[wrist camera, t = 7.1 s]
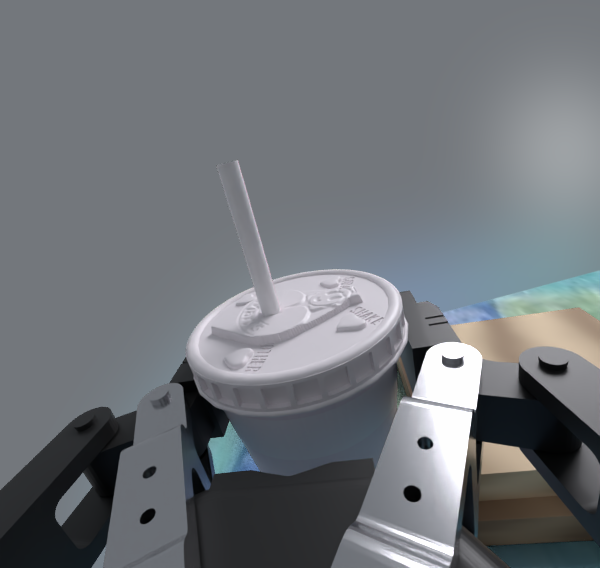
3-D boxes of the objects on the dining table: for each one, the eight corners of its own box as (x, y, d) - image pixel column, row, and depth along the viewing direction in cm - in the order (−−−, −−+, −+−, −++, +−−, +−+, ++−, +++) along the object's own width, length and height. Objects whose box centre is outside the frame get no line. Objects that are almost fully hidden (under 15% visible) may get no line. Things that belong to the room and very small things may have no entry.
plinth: (579, 340, 30) (584, 300, 29) (815, 529, 16) (850, 468, 14) (396, 363, 33) (392, 327, 31) (454, 547, 18) (451, 496, 17)
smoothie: (270, 473, 17) (161, 179, 11) (399, 440, 17) (347, 132, 11) (271, 653, 11) (44, 208, 5) (473, 603, 11) (434, 109, 5)
